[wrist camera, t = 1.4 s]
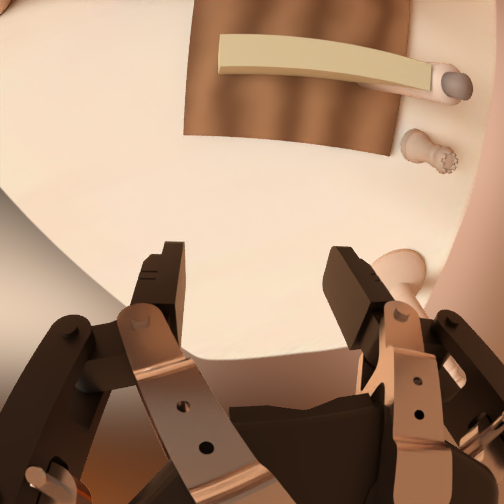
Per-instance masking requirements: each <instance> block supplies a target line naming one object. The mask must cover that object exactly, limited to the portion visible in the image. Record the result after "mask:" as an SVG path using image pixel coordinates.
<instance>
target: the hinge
mask: <svg viewBox="0 0 504 504" xmlns="http://www.w3.org/2000/svg"><path fill="white" fill-rule="evenodd" d="M225 74H264V75H288V76H302V77H314V78H324V79H333V80H341V81H348V82H357V84H358V85H359V86H360V87H362V88H363V89H368V90H375V91H382V92H389V93H395V94H401V95H406V96H412V97H417V98H422V99H426V100H431V101H435V102H440V103H444V104H448V105H456V104H458V103H459V102H460V101H461V100H468V99H470V97H471V96H472V92H473V85H472V82H471V80H470V78H469V77H468V76H467V75H466V74H464V73H460V71H459V70H458V69H457V68H456V67H455V66H453V65H451V64H445V63H428V62H421V61H417V60H414V59H411V58H407V57H404V56H400V55H396V54H392V53H388V52H384V51H380V50H376V49H371V48H367V47H362V46H357V45H352V44H346V43H340V42H334V41H327V40H320V39H312V38H303V37H293V36H280V35H260V34H220V41H219V53H218V75H225Z"/></svg>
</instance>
